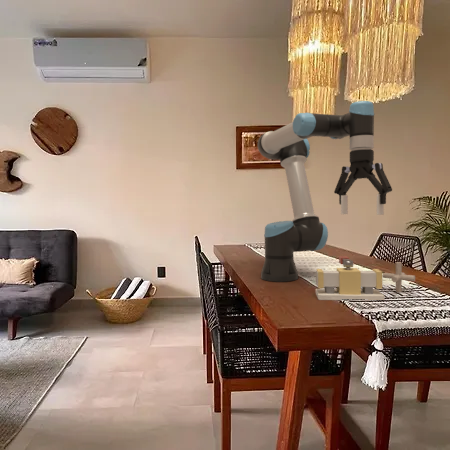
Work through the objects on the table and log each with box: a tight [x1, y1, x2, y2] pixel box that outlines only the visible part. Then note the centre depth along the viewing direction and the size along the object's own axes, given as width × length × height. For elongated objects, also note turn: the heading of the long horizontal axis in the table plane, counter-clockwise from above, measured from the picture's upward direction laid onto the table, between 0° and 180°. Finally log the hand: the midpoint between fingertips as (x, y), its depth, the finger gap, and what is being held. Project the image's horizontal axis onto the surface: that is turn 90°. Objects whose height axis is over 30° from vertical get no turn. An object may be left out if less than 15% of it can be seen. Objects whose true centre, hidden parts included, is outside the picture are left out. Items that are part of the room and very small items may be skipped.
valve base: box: [315, 267, 385, 301], centre depth 123 cm, size 9×20×10 cm, turn 82°
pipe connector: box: [382, 261, 416, 293], centre depth 128 cm, size 10×10×10 cm
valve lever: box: [338, 255, 354, 268], centre depth 126 cm, size 12×3×2 cm, turn 172°
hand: (361, 214), depth 126 cm, fingers open, 13 cm apart
